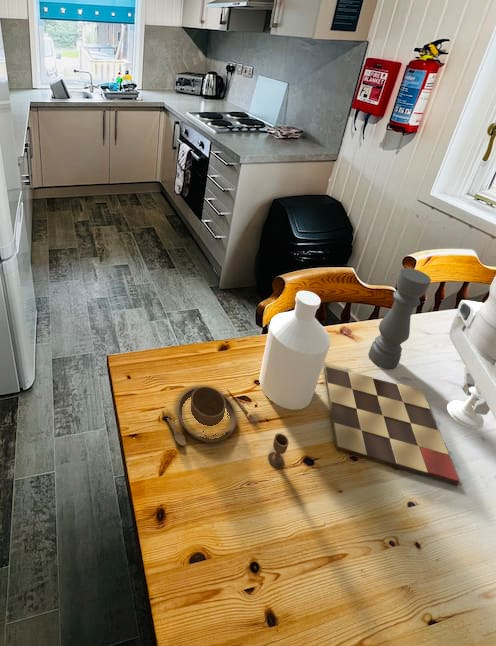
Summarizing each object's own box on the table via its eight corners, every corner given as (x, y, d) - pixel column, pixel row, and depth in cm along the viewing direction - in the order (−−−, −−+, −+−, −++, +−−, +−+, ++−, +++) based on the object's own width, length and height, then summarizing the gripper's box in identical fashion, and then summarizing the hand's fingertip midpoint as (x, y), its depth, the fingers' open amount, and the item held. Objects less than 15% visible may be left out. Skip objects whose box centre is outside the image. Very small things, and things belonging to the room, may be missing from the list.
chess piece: (449, 397, 71) (471, 356, 67) (484, 416, 68) (509, 374, 63) (444, 414, 68) (466, 372, 63) (480, 435, 64) (506, 392, 60)
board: (420, 393, 88) (422, 389, 87) (457, 486, 71) (460, 481, 70) (323, 370, 93) (325, 365, 93) (336, 450, 76) (337, 446, 75)
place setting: (223, 380, 90) (226, 361, 87) (289, 463, 73) (295, 442, 71) (155, 408, 83) (157, 388, 80) (211, 507, 66) (215, 486, 64)
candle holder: (391, 374, 93) (427, 288, 83) (364, 358, 97) (394, 274, 87) (400, 360, 97) (435, 276, 86) (373, 345, 101) (404, 264, 91)
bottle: (281, 418, 82) (307, 324, 71) (247, 373, 92) (265, 286, 81) (325, 400, 86) (355, 310, 75) (287, 359, 96) (309, 275, 85)
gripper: (579, 402, 51) (531, 469, 56) (498, 302, 68) (468, 360, 74) (520, 388, 52) (479, 454, 58) (456, 294, 70) (430, 352, 76)
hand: (472, 401), depth 66 cm, fingers closed on chess piece
